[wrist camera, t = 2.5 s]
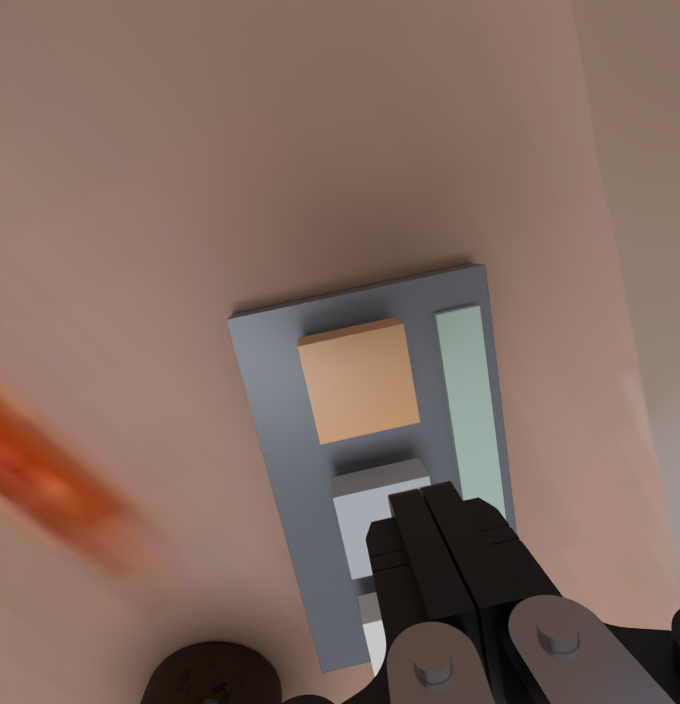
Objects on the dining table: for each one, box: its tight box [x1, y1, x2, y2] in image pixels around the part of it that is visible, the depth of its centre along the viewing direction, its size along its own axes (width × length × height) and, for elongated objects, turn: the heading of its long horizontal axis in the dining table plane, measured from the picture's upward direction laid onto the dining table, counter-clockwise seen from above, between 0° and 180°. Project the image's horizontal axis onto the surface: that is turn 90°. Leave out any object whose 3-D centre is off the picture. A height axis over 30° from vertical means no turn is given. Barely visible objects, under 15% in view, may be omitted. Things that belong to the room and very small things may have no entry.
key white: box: [358, 592, 386, 676], centre depth 25 cm, size 5×5×2 cm
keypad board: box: [226, 263, 517, 673], centre depth 26 cm, size 14×24×3 cm, turn 12°
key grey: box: [331, 458, 431, 580], centre depth 23 cm, size 5×5×2 cm
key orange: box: [297, 317, 420, 445], centre depth 21 cm, size 5×5×2 cm
